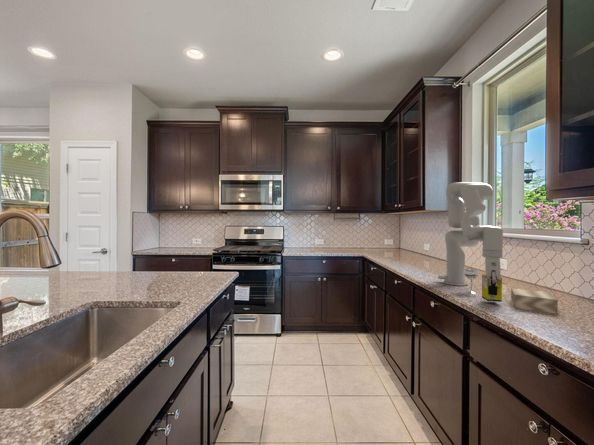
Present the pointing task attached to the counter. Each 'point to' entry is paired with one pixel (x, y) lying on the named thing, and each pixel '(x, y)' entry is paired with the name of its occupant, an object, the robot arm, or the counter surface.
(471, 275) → the wineglass
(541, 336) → the counter surface
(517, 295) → the riser block
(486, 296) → the supplement box
